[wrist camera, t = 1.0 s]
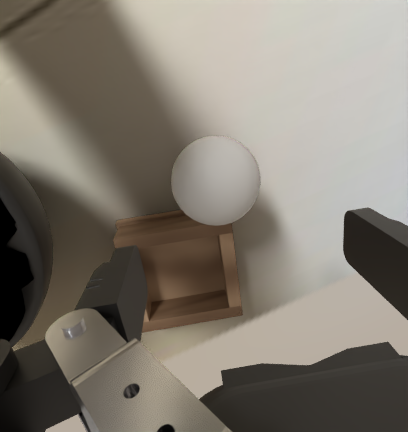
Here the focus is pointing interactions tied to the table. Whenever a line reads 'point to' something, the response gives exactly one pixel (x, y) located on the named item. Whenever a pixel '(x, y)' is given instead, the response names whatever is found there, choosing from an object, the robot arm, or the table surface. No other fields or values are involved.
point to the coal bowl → (21, 253)
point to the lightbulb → (215, 180)
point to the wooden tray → (183, 268)
